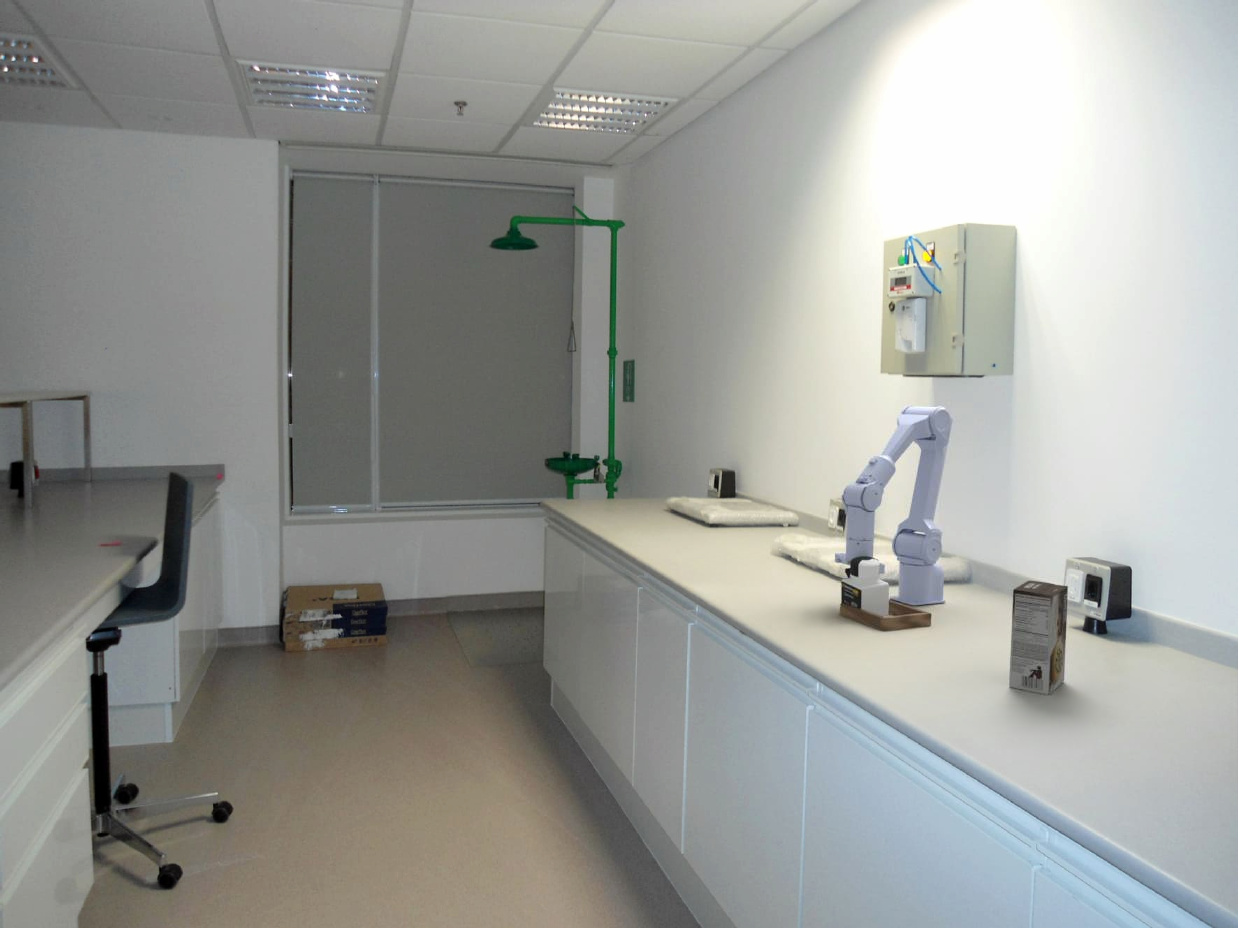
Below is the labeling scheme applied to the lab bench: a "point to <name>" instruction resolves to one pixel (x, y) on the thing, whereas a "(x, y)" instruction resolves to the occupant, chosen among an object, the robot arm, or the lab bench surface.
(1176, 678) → the lab bench surface
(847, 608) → the frame
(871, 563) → the medicine bottle
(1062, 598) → the coffee box
